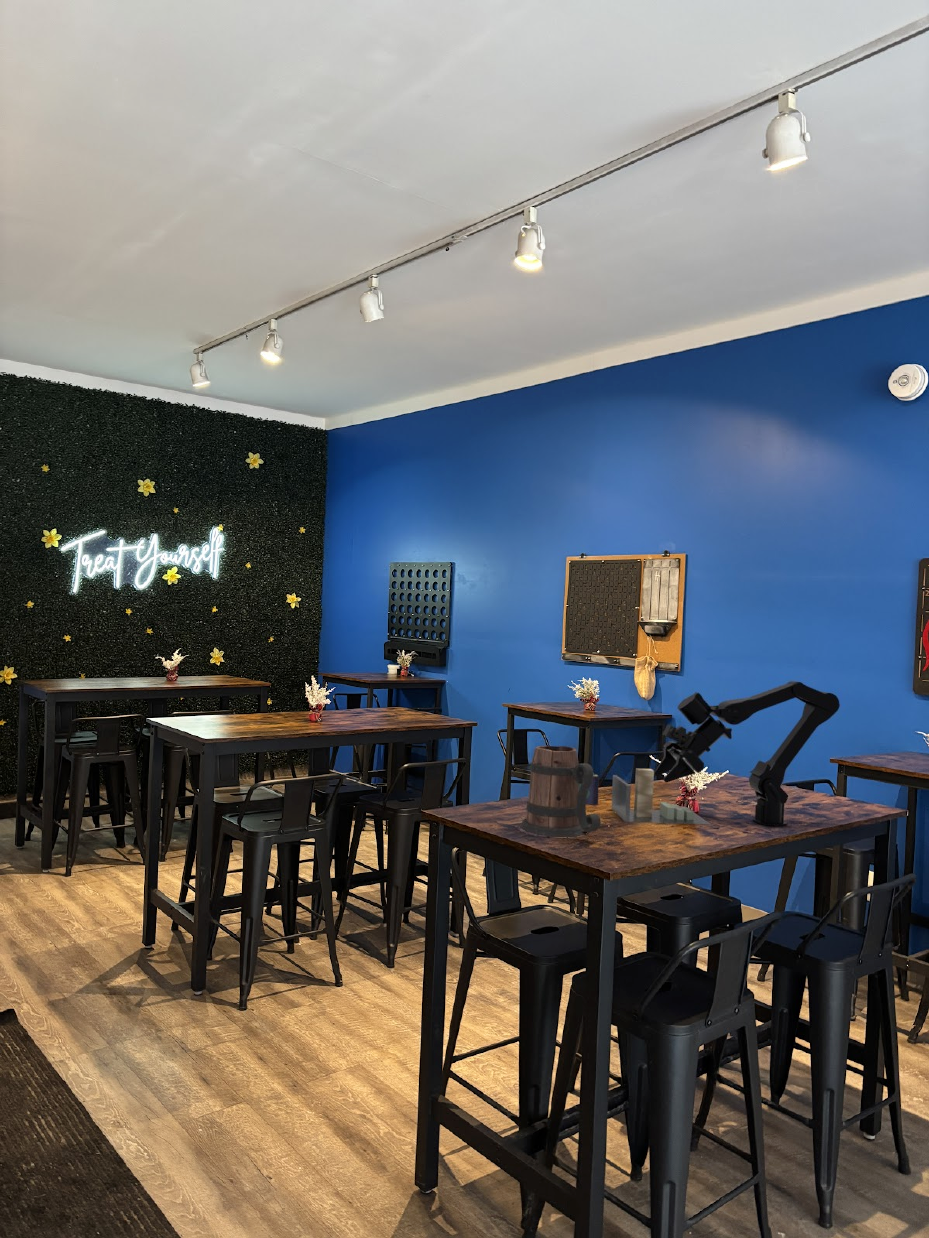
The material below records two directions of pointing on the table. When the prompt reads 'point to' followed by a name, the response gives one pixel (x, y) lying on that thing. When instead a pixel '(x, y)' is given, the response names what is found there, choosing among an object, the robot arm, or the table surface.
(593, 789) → the flask
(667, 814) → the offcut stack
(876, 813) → the table surface
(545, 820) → the tankard
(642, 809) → the birch block
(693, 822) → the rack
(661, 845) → the table surface
